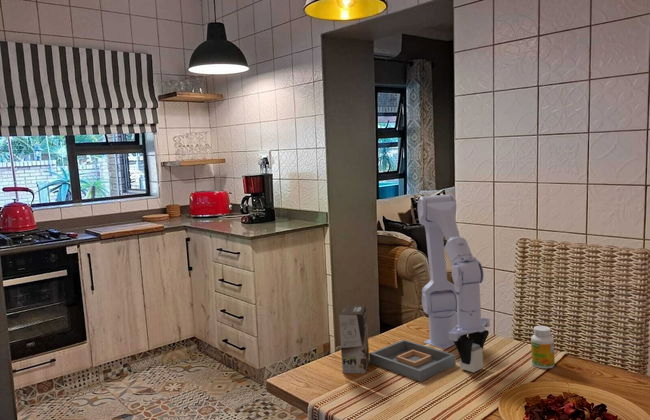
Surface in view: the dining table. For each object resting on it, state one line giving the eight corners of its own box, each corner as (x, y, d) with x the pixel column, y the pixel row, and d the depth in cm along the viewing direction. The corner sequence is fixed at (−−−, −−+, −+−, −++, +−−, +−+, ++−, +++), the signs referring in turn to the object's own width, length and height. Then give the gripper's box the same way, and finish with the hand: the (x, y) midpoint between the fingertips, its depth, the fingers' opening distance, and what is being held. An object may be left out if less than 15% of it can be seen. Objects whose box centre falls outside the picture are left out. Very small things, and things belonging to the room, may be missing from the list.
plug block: (469, 363, 133) (468, 341, 132) (483, 367, 130) (482, 344, 129) (460, 368, 130) (459, 345, 130) (473, 372, 127) (472, 349, 127)
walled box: (404, 349, 148) (404, 339, 148) (455, 365, 134) (455, 354, 134) (369, 363, 139) (369, 353, 139) (420, 383, 125) (419, 371, 125)
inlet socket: (412, 353, 143) (412, 349, 143) (431, 359, 138) (431, 355, 138) (396, 360, 139) (396, 356, 139) (415, 367, 134) (414, 362, 134)
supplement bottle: (528, 366, 131) (527, 329, 130) (536, 359, 134) (535, 323, 134) (550, 370, 127) (549, 333, 126) (557, 363, 131) (556, 326, 130)
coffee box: (366, 374, 132) (362, 314, 131) (342, 374, 134) (337, 314, 132) (370, 361, 141) (366, 304, 140) (347, 360, 143) (343, 304, 141)
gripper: (464, 318, 121) (467, 373, 122) (499, 304, 130) (501, 356, 131) (440, 313, 126) (443, 365, 128) (475, 300, 135) (477, 349, 137)
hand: (471, 360), depth 130 cm, fingers closed on plug block, 4 cm apart
